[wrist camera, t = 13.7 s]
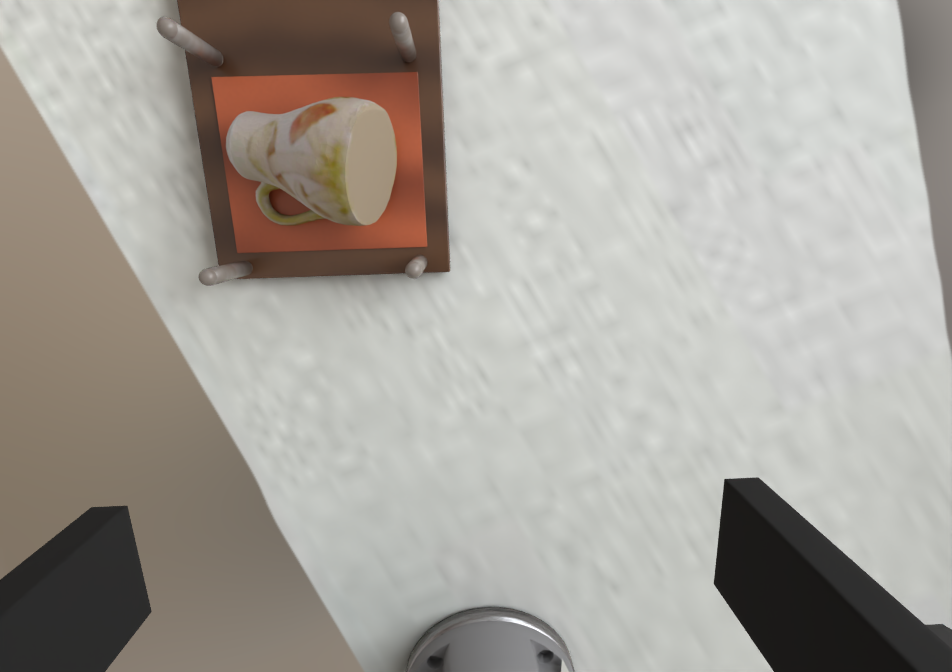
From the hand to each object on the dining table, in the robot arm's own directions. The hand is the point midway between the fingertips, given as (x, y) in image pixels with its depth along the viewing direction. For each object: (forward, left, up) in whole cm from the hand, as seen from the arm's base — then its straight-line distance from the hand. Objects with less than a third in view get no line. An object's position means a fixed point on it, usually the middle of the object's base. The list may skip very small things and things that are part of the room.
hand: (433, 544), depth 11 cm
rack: (+17, +8, -27) cm, 33 cm away
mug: (+10, +8, -25) cm, 28 cm away
